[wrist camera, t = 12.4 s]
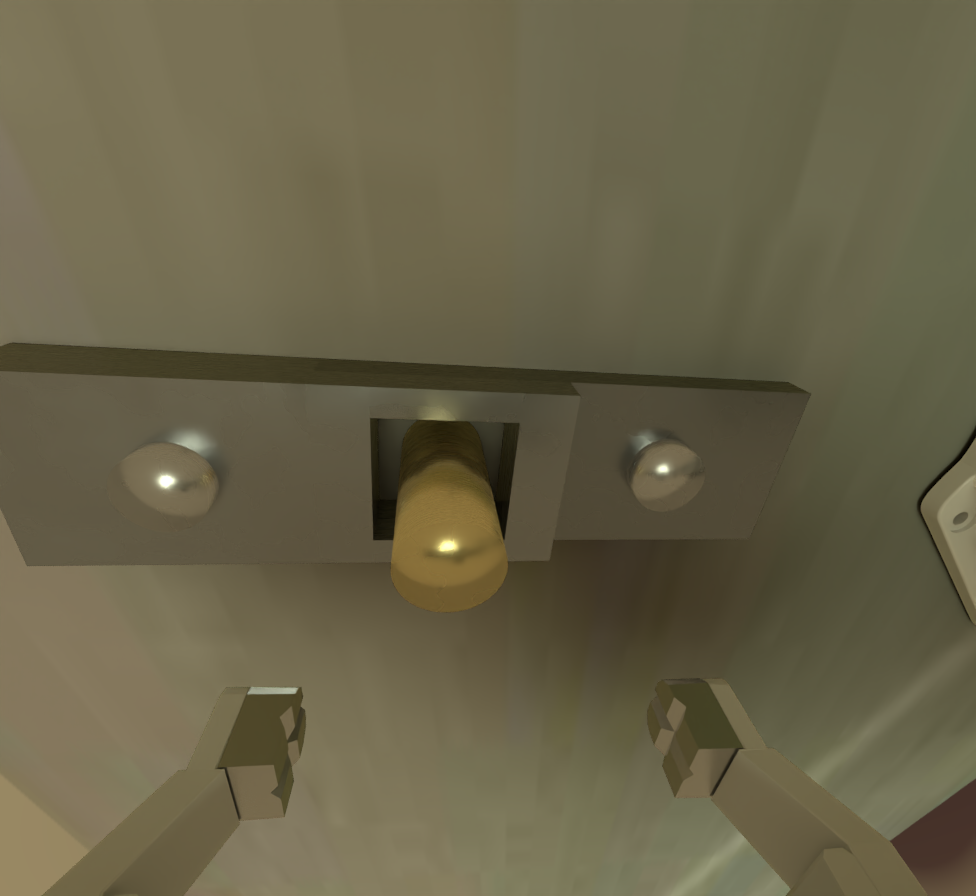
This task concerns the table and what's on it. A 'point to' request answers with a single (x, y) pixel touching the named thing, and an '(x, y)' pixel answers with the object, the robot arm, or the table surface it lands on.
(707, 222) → the table surface
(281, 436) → the latch strike plate
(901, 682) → the table surface
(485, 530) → the brass pin
